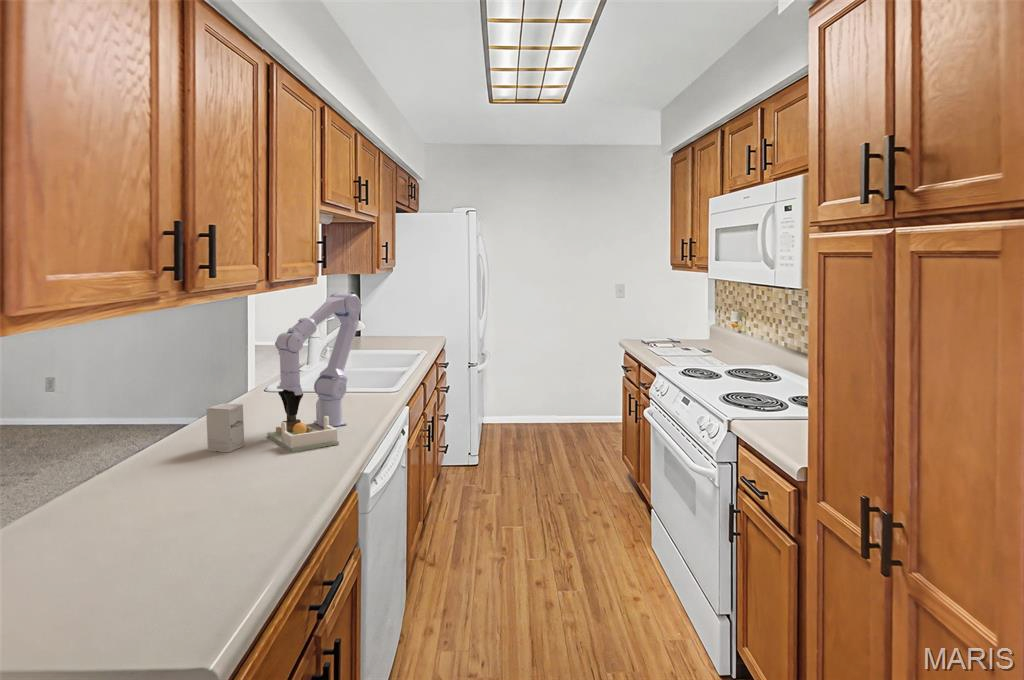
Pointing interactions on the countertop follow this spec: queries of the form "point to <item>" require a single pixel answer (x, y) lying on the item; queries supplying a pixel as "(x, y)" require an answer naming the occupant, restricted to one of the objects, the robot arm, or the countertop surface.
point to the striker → (291, 421)
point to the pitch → (305, 437)
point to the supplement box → (225, 427)
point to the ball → (299, 428)
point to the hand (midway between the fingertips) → (291, 414)
